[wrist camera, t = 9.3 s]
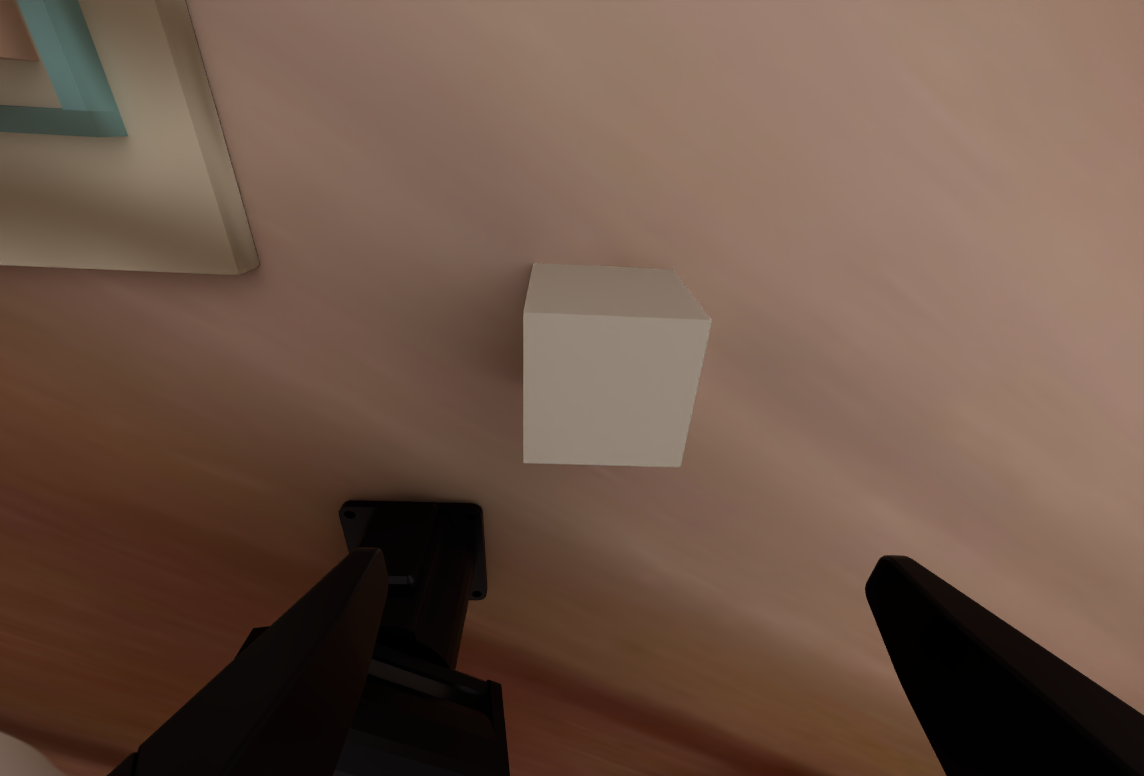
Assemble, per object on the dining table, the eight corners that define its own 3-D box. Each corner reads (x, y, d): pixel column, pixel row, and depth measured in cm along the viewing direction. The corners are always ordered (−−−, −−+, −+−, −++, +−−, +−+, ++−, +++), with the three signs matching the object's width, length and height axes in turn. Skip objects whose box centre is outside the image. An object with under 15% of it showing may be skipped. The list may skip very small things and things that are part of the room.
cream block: (653, 389, 19) (680, 467, 15) (532, 384, 19) (523, 462, 15) (672, 268, 17) (711, 319, 12) (533, 262, 16) (523, 312, 12)
